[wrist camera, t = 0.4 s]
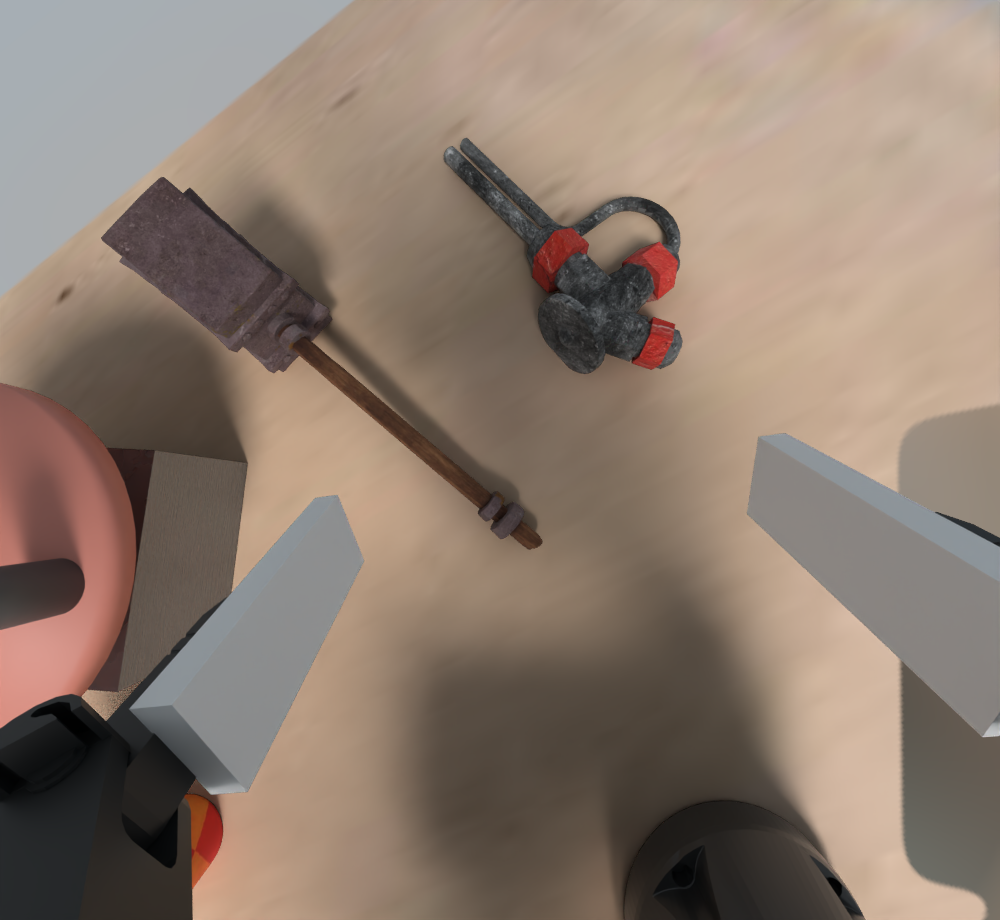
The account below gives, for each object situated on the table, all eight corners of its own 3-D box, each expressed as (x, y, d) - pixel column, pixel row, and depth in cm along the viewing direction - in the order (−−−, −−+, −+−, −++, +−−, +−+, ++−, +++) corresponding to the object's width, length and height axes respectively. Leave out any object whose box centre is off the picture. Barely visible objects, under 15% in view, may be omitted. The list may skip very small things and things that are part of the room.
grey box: (225, 639, 29) (117, 691, 21) (56, 627, 30) (-111, 673, 22) (247, 463, 31) (154, 450, 23) (86, 454, 31) (-60, 439, 23)
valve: (727, 318, 33) (608, 419, 30) (534, 137, 37) (412, 211, 34) (784, 264, 27) (641, 385, 24) (545, 53, 30) (397, 136, 28)
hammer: (258, 250, 31) (164, 157, 21) (546, 498, 35) (582, 518, 25) (202, 310, 31) (81, 244, 21) (499, 554, 34) (516, 597, 24)
